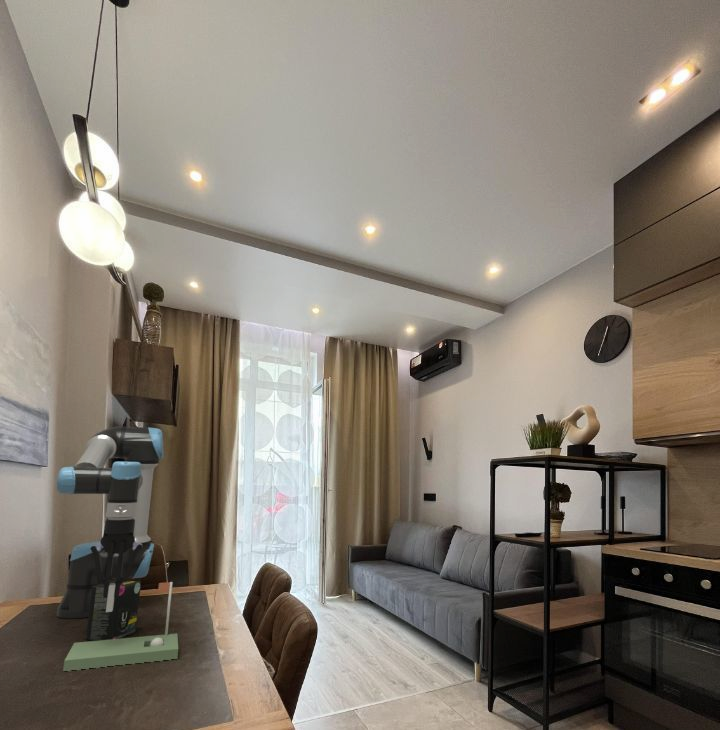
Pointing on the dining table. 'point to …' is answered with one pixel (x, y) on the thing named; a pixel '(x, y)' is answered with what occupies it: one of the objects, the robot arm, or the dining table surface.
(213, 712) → the dining table surface
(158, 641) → the ball
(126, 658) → the mini golf green
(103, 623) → the tampon box
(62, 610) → the robot arm
